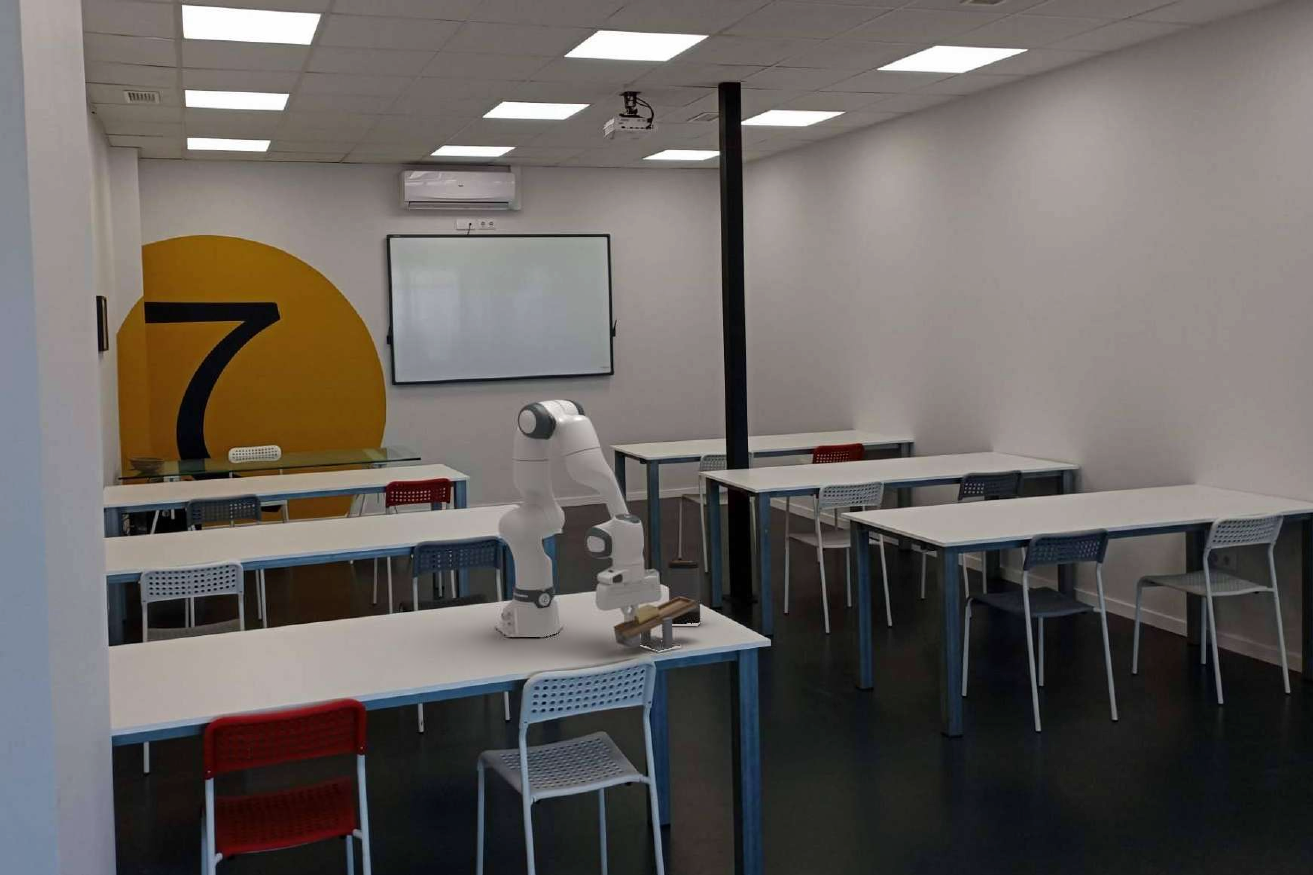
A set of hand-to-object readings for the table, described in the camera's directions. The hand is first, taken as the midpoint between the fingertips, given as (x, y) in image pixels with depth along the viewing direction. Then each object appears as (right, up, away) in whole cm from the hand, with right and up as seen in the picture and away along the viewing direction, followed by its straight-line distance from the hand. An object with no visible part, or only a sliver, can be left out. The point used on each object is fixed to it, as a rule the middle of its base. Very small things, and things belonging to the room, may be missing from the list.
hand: (629, 621), depth 316 cm
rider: (+4, -1, +3) cm, 5 cm away
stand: (+8, -8, +6) cm, 13 cm away
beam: (+8, -3, +6) cm, 11 cm away
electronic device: (+16, -6, +30) cm, 34 cm away
